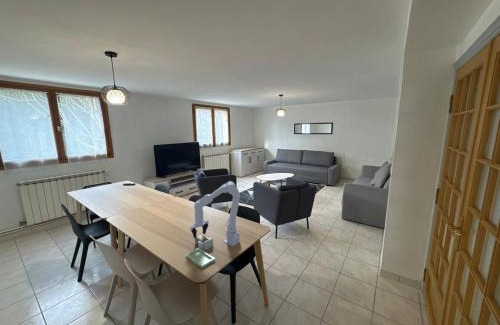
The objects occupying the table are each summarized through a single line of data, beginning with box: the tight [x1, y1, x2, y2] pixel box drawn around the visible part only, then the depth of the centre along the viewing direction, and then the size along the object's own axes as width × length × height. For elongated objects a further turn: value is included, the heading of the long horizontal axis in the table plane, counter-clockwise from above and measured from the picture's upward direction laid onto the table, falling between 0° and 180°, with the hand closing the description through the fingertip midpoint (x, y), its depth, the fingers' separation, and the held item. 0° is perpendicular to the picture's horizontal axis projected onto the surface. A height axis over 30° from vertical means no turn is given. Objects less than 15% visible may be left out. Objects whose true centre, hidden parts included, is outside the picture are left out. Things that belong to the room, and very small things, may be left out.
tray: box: [185, 248, 216, 269], centre depth 125 cm, size 17×10×2 cm, turn 49°
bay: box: [197, 236, 214, 252], centre depth 138 cm, size 6×8×6 cm
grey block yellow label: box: [194, 234, 208, 246], centre depth 140 cm, size 9×5×6 cm, turn 49°
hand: (199, 235), depth 141 cm, fingers open, 7 cm apart
